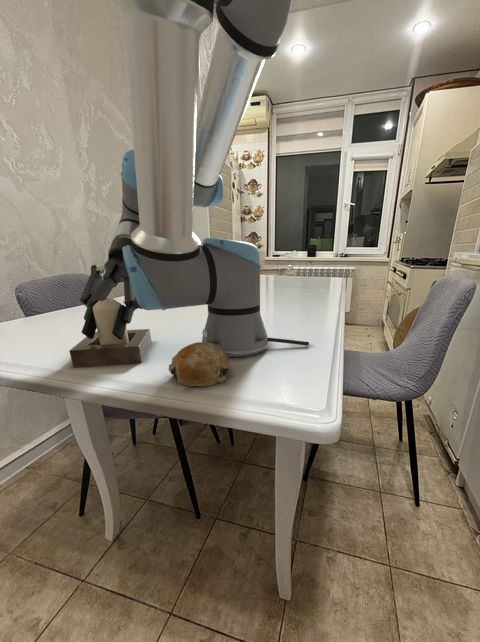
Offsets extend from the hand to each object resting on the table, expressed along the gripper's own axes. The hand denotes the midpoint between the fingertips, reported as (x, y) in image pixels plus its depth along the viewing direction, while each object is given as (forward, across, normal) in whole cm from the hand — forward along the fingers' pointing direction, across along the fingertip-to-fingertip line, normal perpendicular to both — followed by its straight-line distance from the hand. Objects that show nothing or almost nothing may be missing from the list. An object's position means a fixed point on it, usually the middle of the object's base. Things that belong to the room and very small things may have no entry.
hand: (102, 335), depth 58 cm
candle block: (+1, 0, -6) cm, 6 cm away
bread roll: (+8, -21, 0) cm, 23 cm away
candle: (0, 0, -5) cm, 5 cm away
